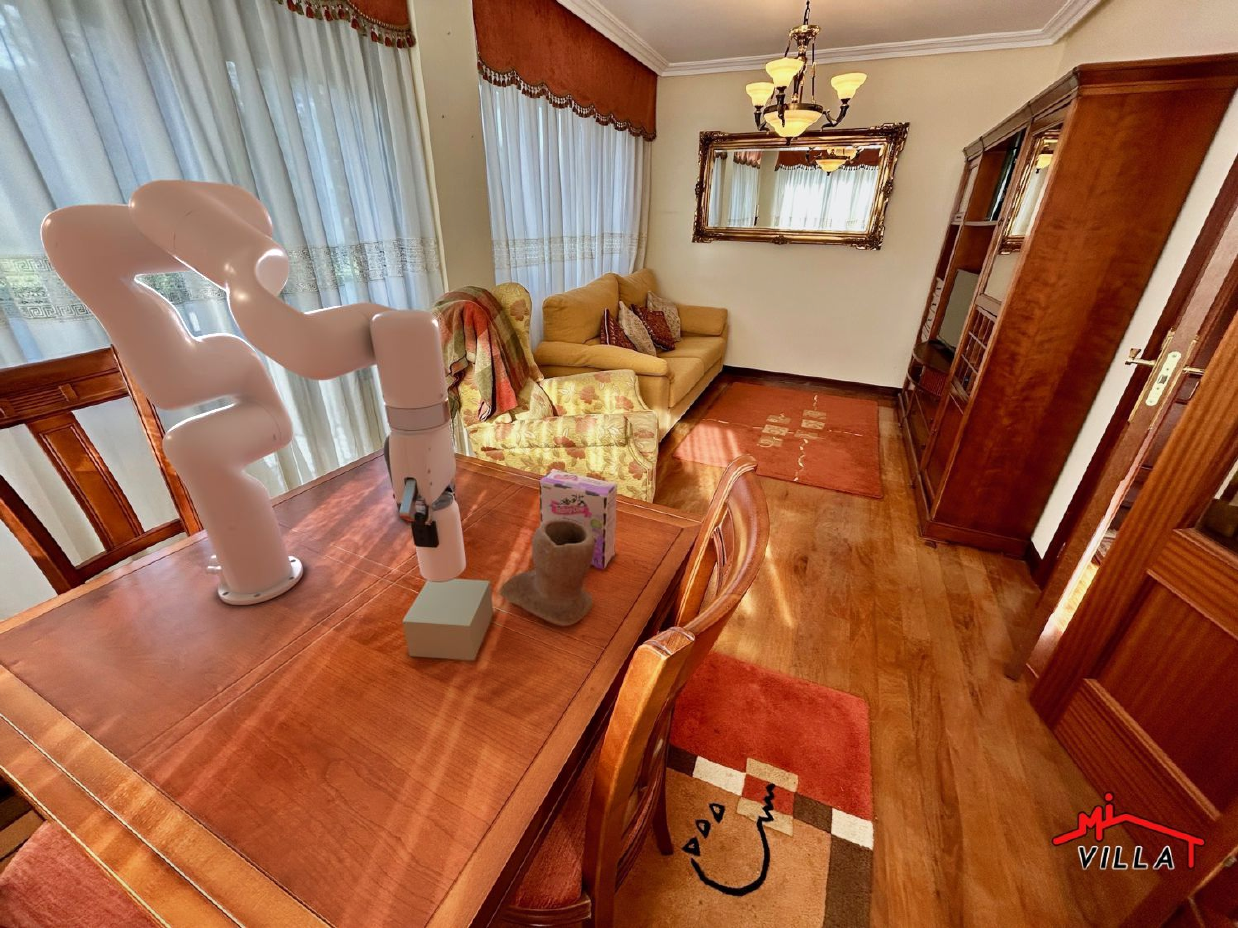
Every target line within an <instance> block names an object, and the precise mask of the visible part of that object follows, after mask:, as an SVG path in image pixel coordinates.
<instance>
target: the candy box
mask: <svg viewBox="0 0 1238 928" xmlns="http://www.w3.org/2000/svg"><path fill="white" fill-rule="evenodd" d="M538 482H539V483H538V485H539V509H540V525H541V524H542V523H543V522H545V521H548V520H553V519H566V520H571V521H575V522H578V523H580V524H582V525H584V526H586V527H587V528H588V529H589V530H590V531H591V533H592V534H593V537H594V541H595V551H594V556H593V559H592V563H591V566H590V567H593V568H597V569H600V570H605V569H606V567H607V566H608V565H609V563H610V562H611V561H612V559H613V558H614V556H615V555H616V553H615V547H616V545H615V543H616V525H617V523H616V521H617V501H618V500H617V498H618V483H617V482H614V481H607V480H602V479H598V478H594V477H589V476H585V475H581V474H575V473H571V472H567V471H563V470H559V469H557V468H556V469H555V468H553V469H551V470H550V471H548V473H547V474H546V475H545V476H543V477H542V478H541V479H540V480H539V481H538Z"/></svg>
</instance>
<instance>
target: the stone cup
mask: <svg viewBox="0 0 1238 928" xmlns="http://www.w3.org/2000/svg"><path fill="white" fill-rule="evenodd" d="M594 551H595V541H594V537H593V534H592V533H591V531H590V530H589V529H588V528H587V527H586V526H584V525H582V524H580V523H578V522H575V521H571V520H566V519H553V520H548V521H545V522H543V523H542V524H541V523H540V525H538V527H537V528H536V530H535V531H534V534H533V537H532V543H531V552H532V553H531V554H532V561H533V566H534V569H532V570H529V571H523V572H519V573H517V574H515V575H513V576H512V577H510V578H509V579H507V581H505V582H504V583H503V584H502V585H501V586H500V588H499V591H498V594H499V595H500V596H501V597H502V598H504V599H505V600H507V601H509V602H510V603H512V604H514V605H516V606H517V607H519V608H521V609H523V610H525V611H526V612H529V613H531V614H532V615H534V616H536V617H538V618H541V619H542V620H545V621H547V622H549V623H551V624H553V625H556V626H561V627H570V626H573V625H575V624H576V623H578V622H579V621H581V620H582V619H583V618H585V617H586V615H587V614H588V613H590V611H591V610H592V607H593V602H594V597H593V595H592V594H590V593H589V591H587V590H586V589H585V588H583V584H584V581H585V579H586V577H587V575H588V573H589V571H590V569H591V567H592V566H591V563H592V559H593V556H594Z"/></svg>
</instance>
